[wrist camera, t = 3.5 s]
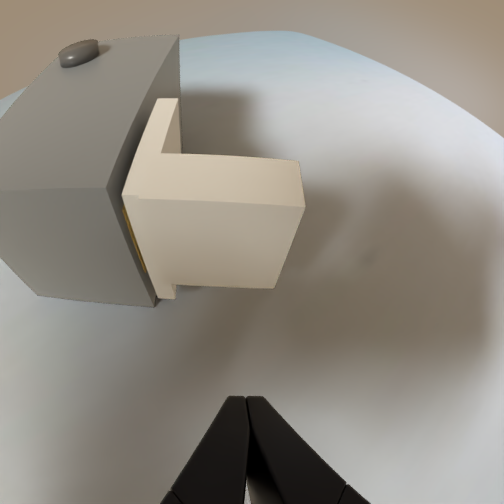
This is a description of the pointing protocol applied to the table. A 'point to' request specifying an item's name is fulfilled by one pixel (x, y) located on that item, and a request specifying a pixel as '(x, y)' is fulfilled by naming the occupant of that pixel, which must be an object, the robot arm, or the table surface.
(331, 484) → the robot arm
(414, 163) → the table surface
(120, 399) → the table surface
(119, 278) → the block
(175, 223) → the cream l-shaped bracket
